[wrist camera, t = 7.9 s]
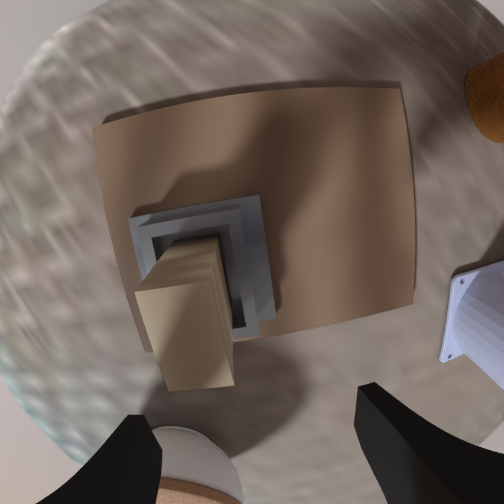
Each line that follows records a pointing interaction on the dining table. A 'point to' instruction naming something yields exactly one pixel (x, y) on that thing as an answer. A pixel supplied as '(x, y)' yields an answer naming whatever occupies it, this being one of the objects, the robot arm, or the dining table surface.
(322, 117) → the walnut board
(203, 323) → the tan wooden block
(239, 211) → the grey square socket
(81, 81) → the dining table surface
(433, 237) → the dining table surface
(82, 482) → the robot arm
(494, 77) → the disposable coffee cup
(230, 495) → the lidded jar
